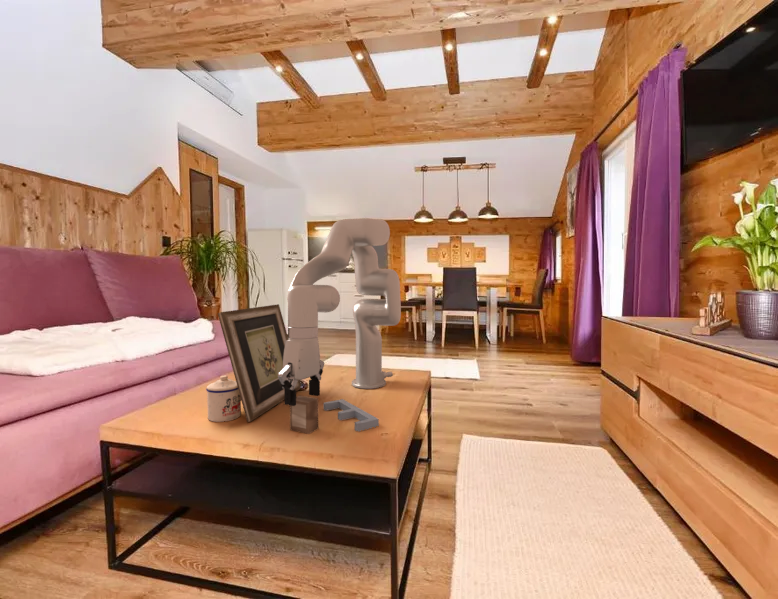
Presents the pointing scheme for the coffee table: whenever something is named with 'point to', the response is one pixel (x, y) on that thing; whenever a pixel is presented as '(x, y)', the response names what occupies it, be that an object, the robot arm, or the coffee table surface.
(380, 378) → the robot arm
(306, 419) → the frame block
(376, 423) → the grey e-shaped bracket
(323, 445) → the coffee table surface
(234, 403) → the teacup with lid
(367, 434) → the coffee table surface
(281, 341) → the picture frame
